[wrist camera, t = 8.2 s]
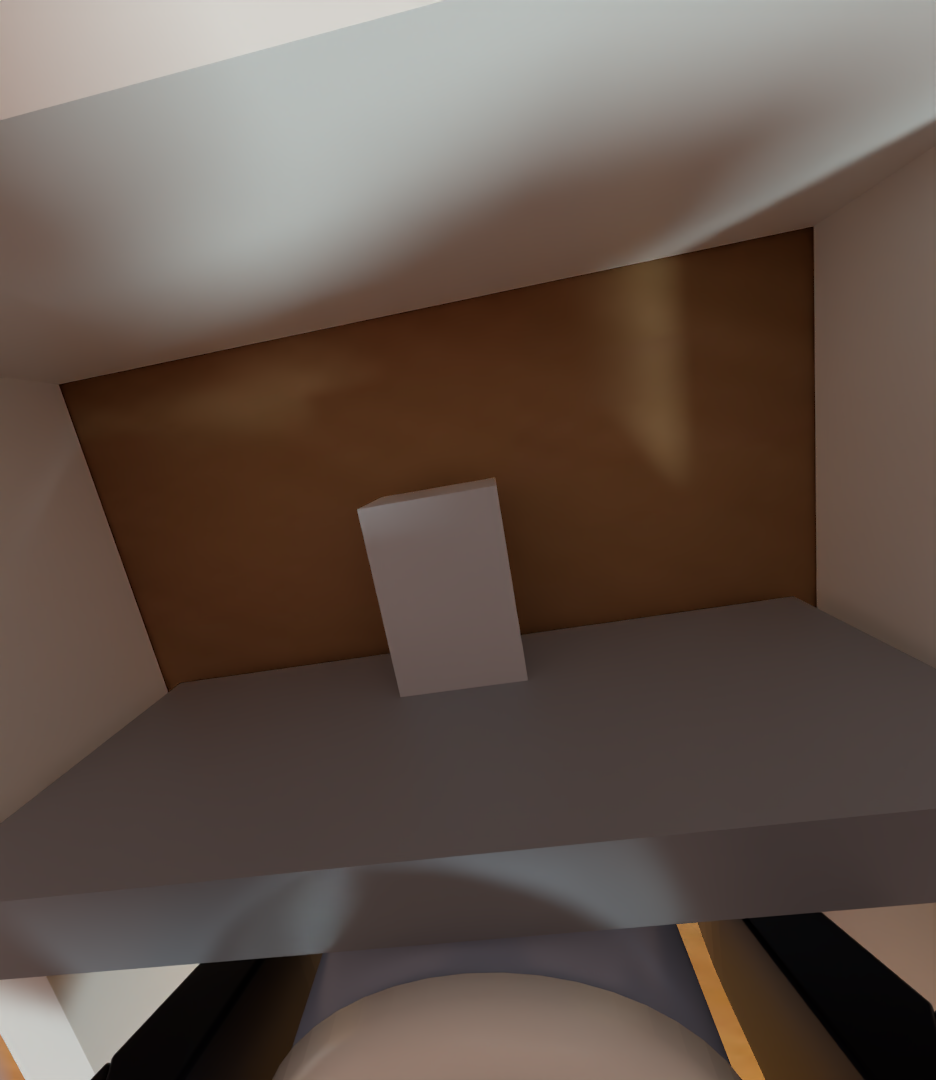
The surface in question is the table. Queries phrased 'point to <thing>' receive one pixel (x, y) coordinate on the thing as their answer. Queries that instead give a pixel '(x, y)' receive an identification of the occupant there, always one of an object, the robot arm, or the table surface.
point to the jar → (511, 1012)
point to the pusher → (485, 779)
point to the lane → (430, 285)
